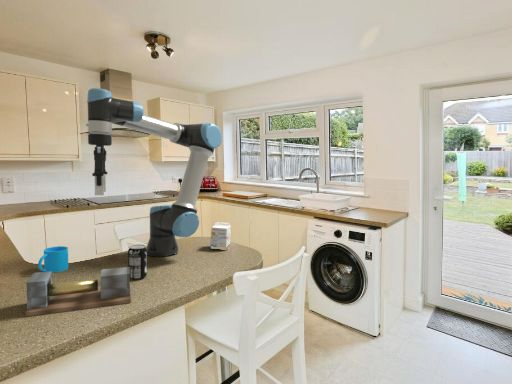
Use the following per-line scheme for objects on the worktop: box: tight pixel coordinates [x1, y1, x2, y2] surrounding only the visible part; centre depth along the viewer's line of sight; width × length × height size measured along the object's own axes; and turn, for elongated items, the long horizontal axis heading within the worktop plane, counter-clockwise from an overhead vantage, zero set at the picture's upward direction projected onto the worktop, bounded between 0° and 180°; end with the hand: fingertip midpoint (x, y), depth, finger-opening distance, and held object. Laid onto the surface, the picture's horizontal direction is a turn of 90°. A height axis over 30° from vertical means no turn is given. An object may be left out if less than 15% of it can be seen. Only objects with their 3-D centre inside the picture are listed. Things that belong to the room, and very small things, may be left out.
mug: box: [37, 245, 69, 273], centre depth 123 cm, size 12×8×8 cm
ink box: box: [210, 221, 232, 247], centre depth 163 cm, size 9×8×13 cm
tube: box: [47, 278, 99, 297], centre depth 96 cm, size 16×4×4 cm, turn 113°
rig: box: [25, 266, 132, 318], centre depth 97 cm, size 27×12×9 cm, turn 113°
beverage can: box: [127, 244, 148, 281], centre depth 118 cm, size 7×7×12 cm
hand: (100, 193), depth 114 cm, fingers open, 13 cm apart
